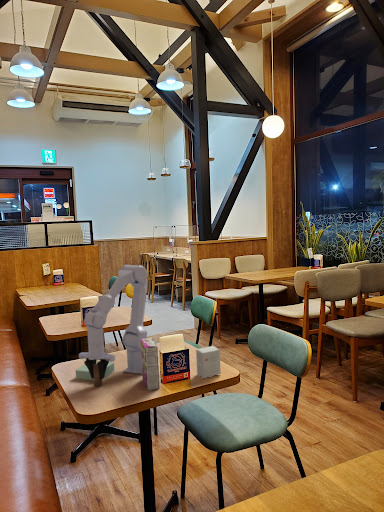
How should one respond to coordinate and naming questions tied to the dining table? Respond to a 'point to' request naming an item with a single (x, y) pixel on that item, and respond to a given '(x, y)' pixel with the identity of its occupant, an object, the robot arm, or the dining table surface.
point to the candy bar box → (150, 363)
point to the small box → (208, 361)
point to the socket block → (85, 374)
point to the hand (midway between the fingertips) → (97, 378)
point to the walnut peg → (97, 376)
